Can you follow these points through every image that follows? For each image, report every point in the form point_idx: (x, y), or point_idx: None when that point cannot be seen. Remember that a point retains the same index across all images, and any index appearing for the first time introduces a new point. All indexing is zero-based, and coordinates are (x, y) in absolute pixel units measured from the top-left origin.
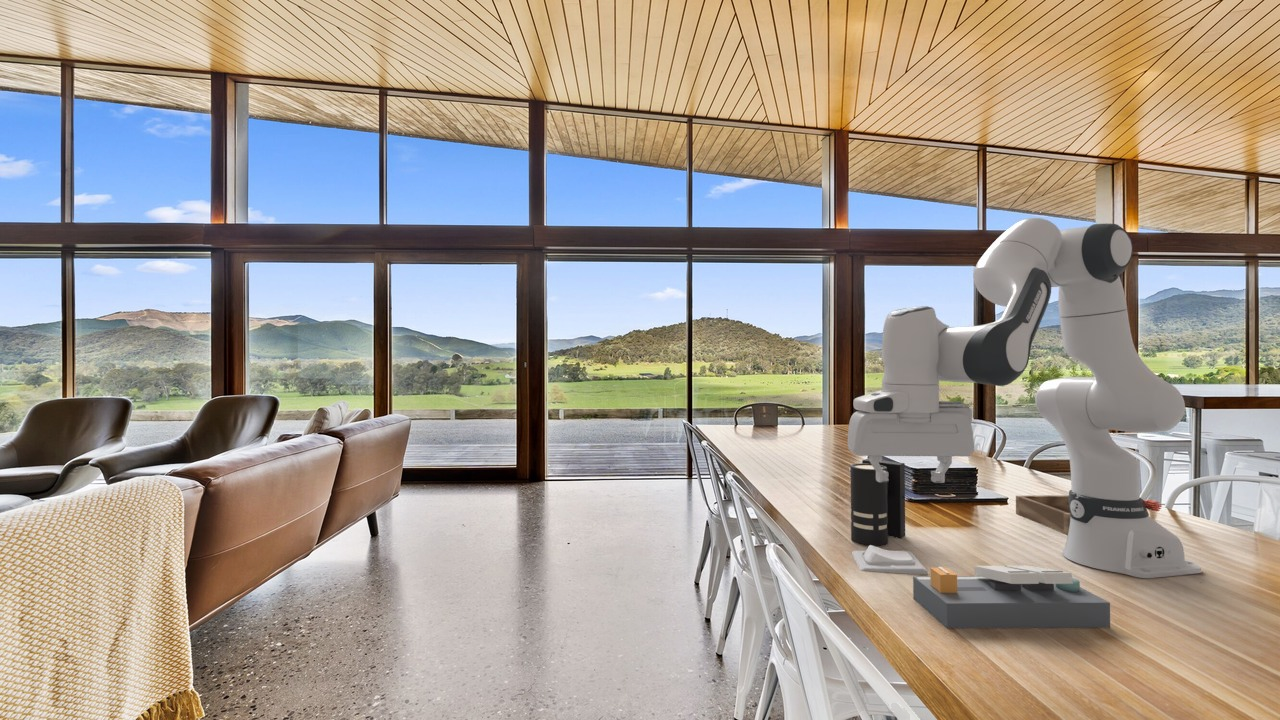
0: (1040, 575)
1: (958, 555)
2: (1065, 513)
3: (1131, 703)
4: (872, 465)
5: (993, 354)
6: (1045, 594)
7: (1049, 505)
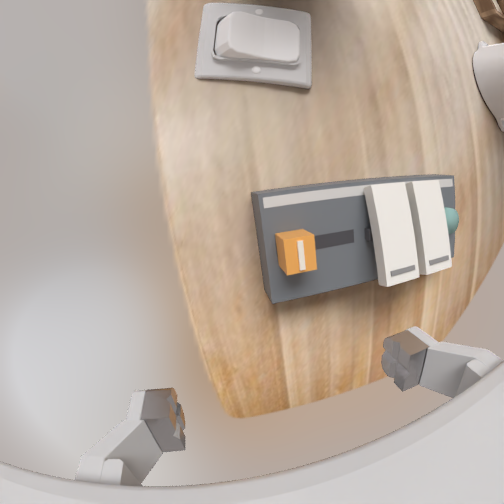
0: (423, 266)
1: (376, 26)
2: (495, 10)
3: (356, 383)
4: (105, 442)
5: None
6: None
7: None
